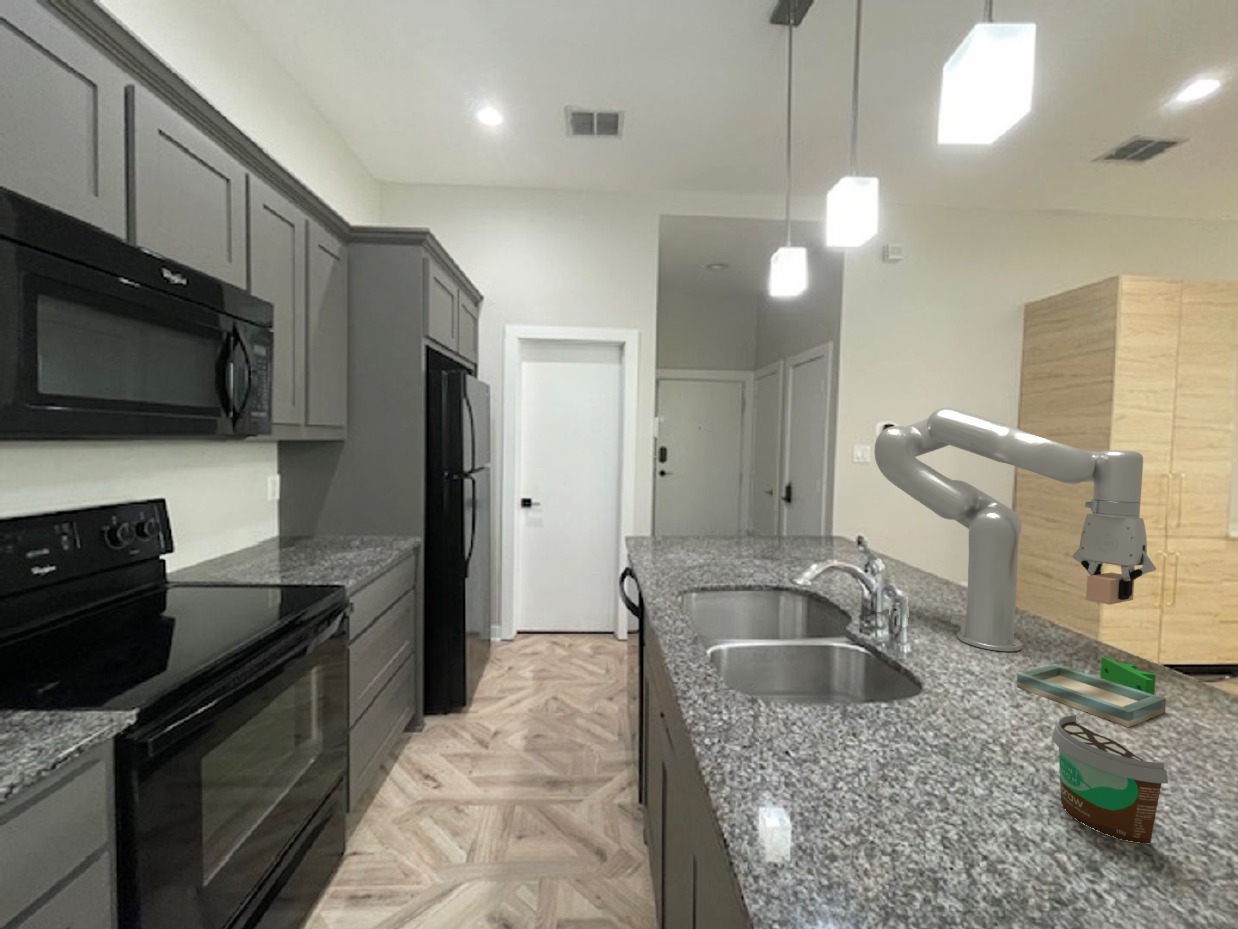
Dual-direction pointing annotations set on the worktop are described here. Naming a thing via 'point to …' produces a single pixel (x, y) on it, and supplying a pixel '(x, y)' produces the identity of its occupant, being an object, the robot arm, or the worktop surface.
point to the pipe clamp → (1127, 675)
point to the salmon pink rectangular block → (1105, 588)
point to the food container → (1107, 783)
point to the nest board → (1092, 694)
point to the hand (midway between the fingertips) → (1110, 595)
